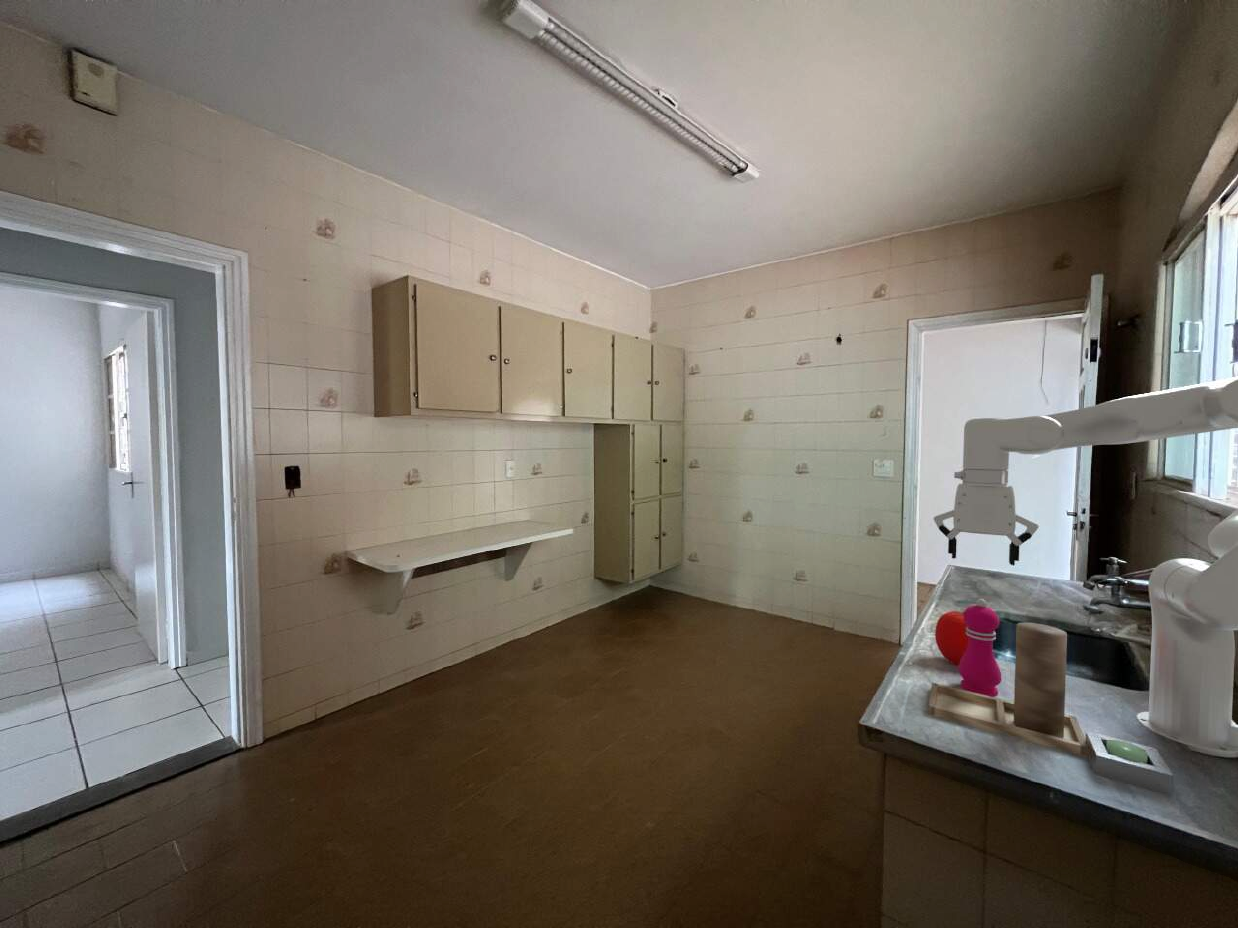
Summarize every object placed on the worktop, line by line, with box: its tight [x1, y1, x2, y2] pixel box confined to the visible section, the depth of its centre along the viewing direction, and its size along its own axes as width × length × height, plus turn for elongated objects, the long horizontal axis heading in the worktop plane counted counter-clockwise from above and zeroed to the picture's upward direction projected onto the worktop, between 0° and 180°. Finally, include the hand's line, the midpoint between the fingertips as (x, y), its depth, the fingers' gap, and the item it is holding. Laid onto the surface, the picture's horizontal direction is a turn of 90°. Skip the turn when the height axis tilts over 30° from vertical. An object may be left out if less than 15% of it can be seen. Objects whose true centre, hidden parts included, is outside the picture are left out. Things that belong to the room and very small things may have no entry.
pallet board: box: [928, 682, 1089, 758], centre depth 90 cm, size 22×12×2 cm, turn 55°
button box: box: [1085, 730, 1174, 797], centre depth 76 cm, size 8×8×4 cm
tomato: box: [934, 610, 968, 667], centre depth 115 cm, size 11×11×13 cm
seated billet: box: [1013, 622, 1068, 738], centre depth 87 cm, size 7×7×18 cm
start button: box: [1106, 739, 1147, 764], centre depth 76 cm, size 4×4×4 cm
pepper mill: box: [958, 598, 1002, 698], centre depth 101 cm, size 7×7×20 cm
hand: (982, 560), depth 101 cm, fingers open, 9 cm apart
